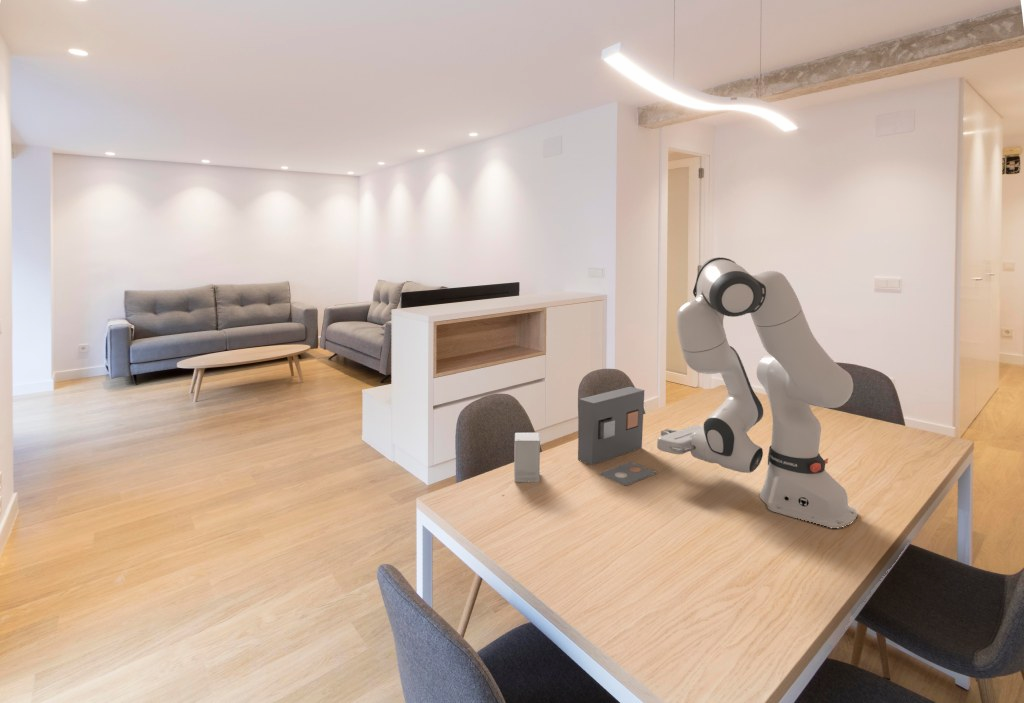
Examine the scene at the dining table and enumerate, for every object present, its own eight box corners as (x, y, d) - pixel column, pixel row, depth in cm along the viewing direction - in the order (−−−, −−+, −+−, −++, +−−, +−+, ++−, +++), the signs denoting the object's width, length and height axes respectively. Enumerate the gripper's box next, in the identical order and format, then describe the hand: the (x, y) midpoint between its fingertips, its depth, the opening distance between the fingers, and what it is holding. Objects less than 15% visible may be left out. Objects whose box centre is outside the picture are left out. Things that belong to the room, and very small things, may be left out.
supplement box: (539, 482, 158) (540, 440, 155) (514, 482, 158) (514, 440, 155) (539, 472, 165) (539, 432, 162) (514, 471, 165) (514, 431, 162)
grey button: (614, 435, 171) (615, 420, 170) (603, 439, 168) (604, 423, 167) (607, 432, 173) (607, 417, 172) (596, 436, 170) (596, 420, 169)
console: (641, 447, 184) (644, 390, 180) (591, 465, 169) (593, 403, 165) (627, 442, 188) (630, 386, 185) (577, 459, 174) (579, 398, 170)
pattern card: (656, 473, 164) (656, 471, 164) (625, 486, 155) (625, 484, 155) (630, 462, 171) (630, 461, 171) (599, 474, 163) (599, 472, 163)
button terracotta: (637, 425, 180) (638, 411, 179) (627, 428, 177) (628, 414, 176) (630, 423, 183) (631, 408, 182) (620, 426, 179) (620, 411, 179)
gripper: (681, 463, 151) (641, 449, 162) (722, 447, 163) (682, 435, 174) (683, 441, 150) (642, 428, 160) (724, 427, 162) (684, 416, 173)
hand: (663, 432), depth 167 cm, fingers closed
